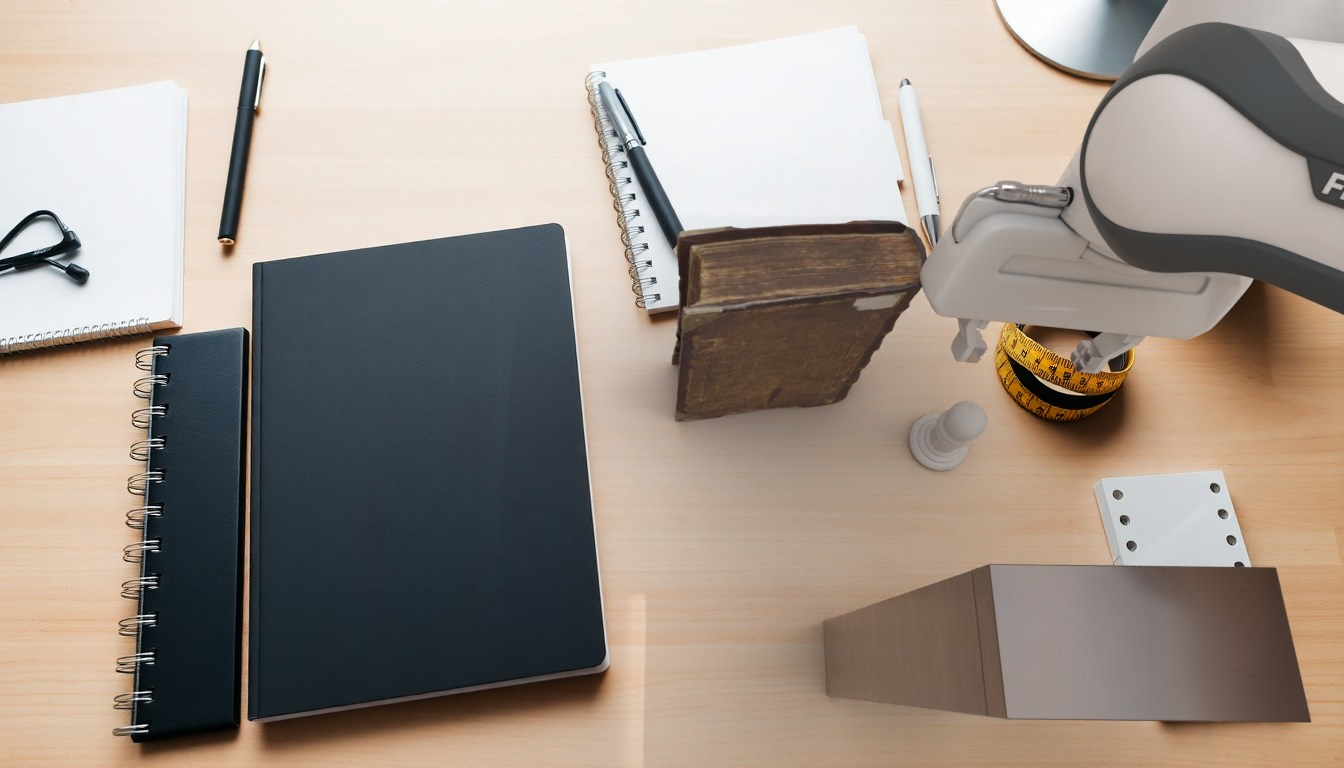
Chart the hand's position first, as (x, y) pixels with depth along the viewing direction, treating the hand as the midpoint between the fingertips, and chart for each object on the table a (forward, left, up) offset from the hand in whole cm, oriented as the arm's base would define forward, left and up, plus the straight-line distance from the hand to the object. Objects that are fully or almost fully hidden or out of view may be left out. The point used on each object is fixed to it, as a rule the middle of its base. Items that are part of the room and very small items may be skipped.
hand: (1023, 361), depth 59 cm
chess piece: (0, +1, -18) cm, 18 cm away
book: (+14, +10, -18) cm, 25 cm away
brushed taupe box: (-11, +17, -18) cm, 27 cm away
